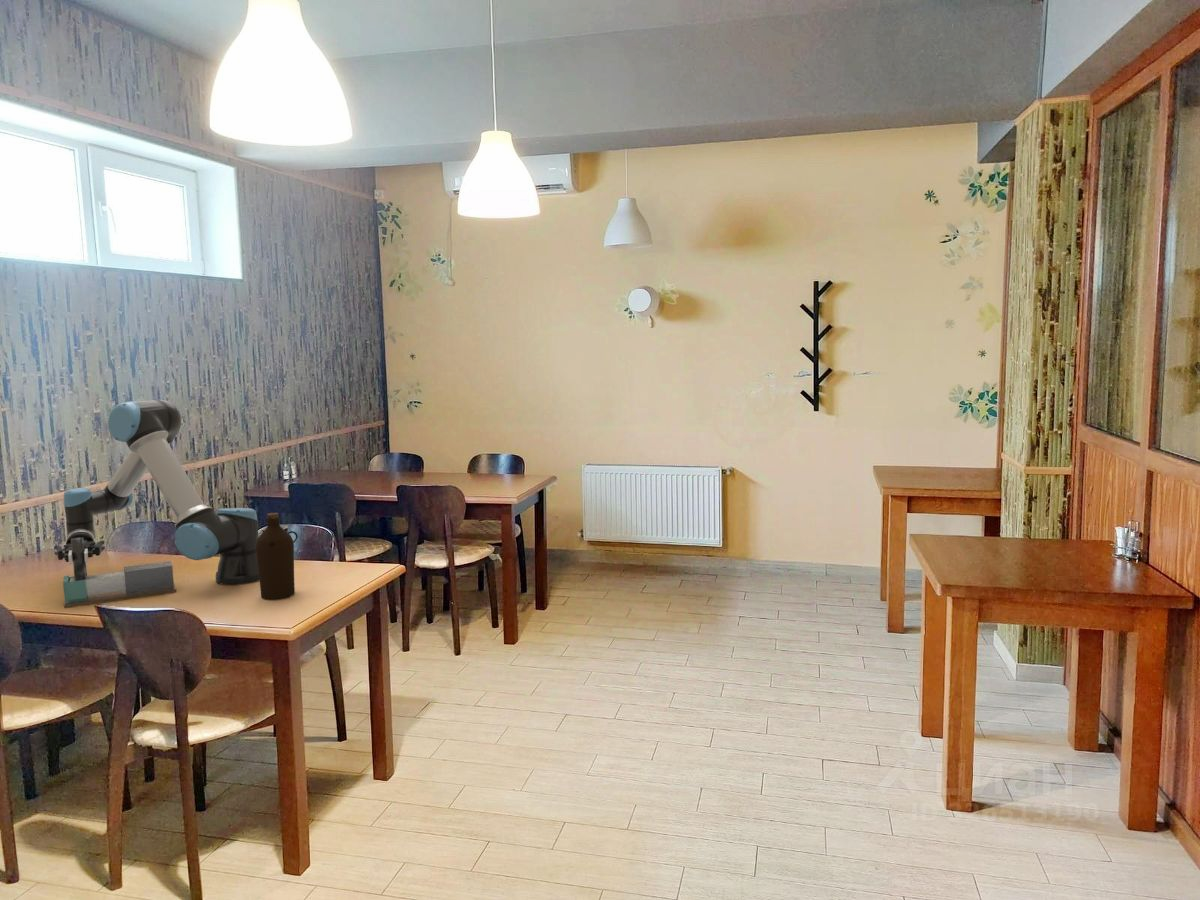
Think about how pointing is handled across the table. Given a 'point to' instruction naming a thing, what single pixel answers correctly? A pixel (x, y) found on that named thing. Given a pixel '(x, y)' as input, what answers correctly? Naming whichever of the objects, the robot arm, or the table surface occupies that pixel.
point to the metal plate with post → (94, 582)
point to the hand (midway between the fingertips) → (78, 558)
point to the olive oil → (275, 561)
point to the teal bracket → (74, 590)
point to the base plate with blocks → (137, 584)
